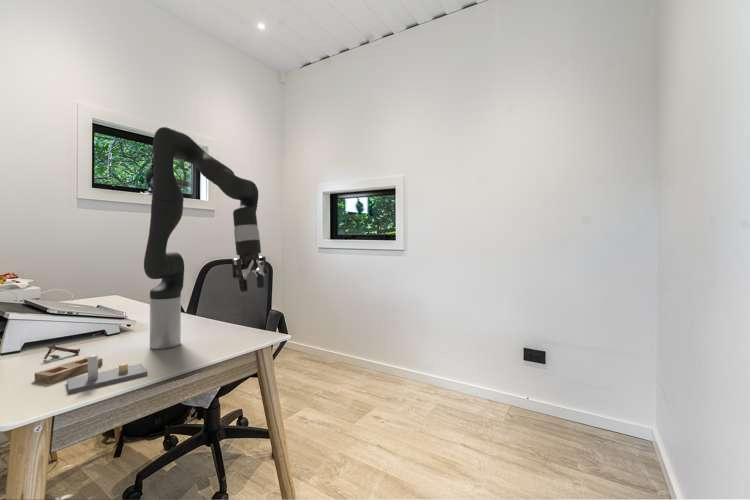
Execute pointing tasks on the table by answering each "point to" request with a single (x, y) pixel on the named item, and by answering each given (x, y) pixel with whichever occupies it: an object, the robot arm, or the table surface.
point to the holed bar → (64, 370)
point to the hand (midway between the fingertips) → (252, 289)
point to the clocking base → (104, 375)
